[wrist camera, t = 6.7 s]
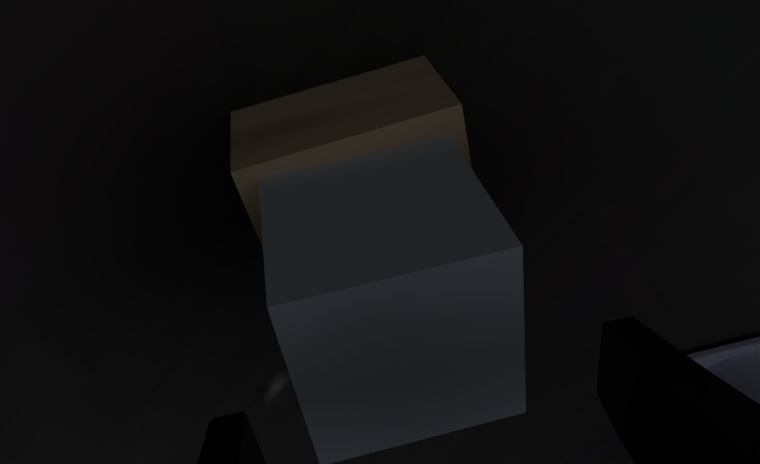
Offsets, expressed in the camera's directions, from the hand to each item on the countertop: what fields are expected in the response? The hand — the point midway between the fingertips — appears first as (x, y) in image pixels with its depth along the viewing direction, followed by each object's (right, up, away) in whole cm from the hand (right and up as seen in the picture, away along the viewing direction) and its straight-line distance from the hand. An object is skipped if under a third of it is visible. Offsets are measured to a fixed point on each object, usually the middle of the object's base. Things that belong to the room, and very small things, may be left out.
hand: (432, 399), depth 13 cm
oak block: (-2, +6, +8) cm, 10 cm away
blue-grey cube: (-1, +3, +5) cm, 6 cm away
